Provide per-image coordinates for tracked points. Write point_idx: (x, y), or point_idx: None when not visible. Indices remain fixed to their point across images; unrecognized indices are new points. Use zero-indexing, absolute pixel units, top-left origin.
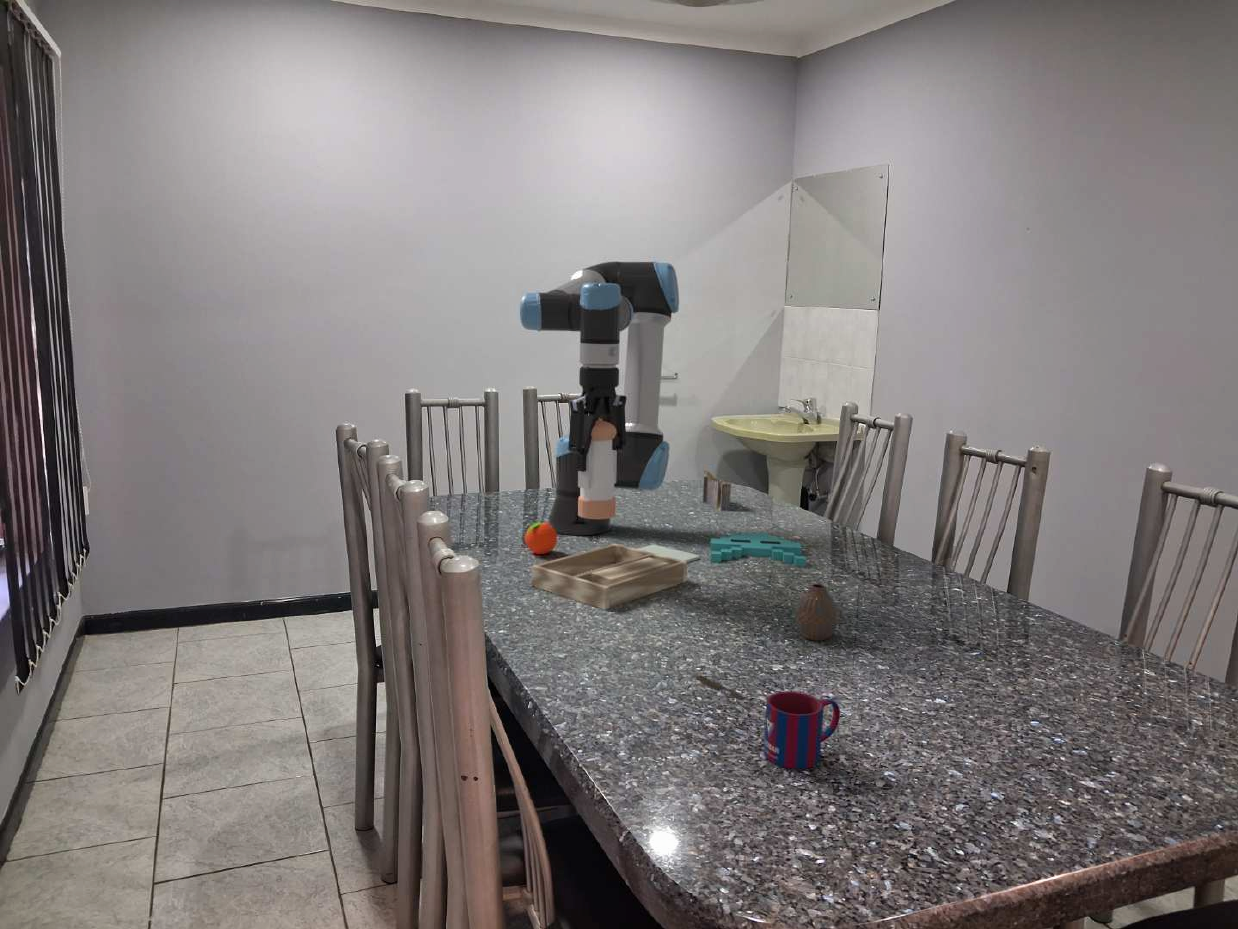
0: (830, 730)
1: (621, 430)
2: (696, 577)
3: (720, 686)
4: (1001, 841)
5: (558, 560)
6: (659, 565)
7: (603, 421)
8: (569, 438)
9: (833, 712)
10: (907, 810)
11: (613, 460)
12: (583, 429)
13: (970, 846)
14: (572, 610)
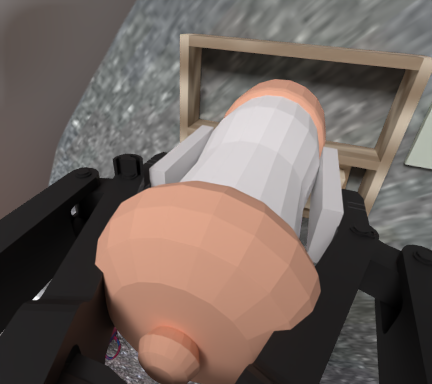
0: (118, 345)
1: (379, 365)
2: (389, 217)
3: None
4: (115, 372)
5: (238, 49)
6: (308, 208)
7: (252, 355)
8: (39, 196)
9: (116, 353)
10: (108, 354)
11: (308, 230)
12: (44, 286)
13: (106, 365)
14: (165, 146)
